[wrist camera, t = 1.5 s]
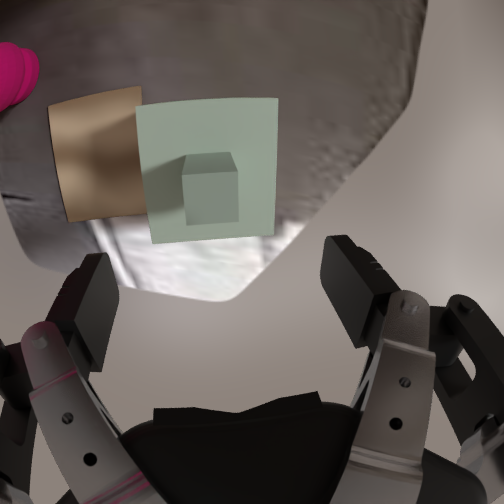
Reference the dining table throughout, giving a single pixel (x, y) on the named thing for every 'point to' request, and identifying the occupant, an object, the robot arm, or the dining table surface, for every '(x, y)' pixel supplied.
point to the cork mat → (98, 154)
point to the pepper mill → (16, 74)
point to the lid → (209, 167)
